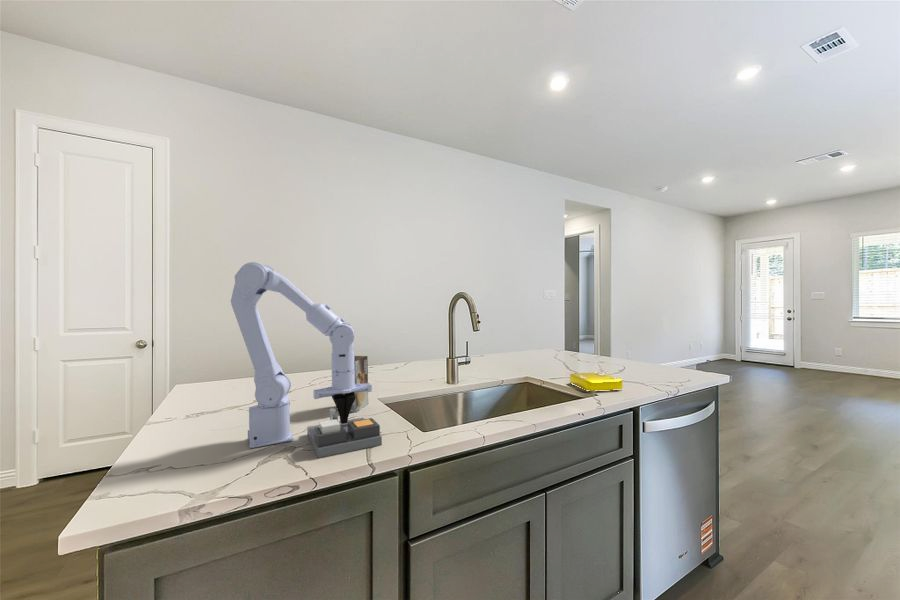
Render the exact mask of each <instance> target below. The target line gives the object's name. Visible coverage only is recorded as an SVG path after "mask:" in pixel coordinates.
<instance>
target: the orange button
mask: <svg viewBox="0 0 900 600" xmlns="http://www.w3.org/2000/svg"><path fill="white" fill-rule="evenodd" d="M366 419H367V420H361V421H355V422H353V425H354V426H355V427H356V428H360V427H366V426H371V425H374V424H373V423H372V422H371V421H370V420H369V419H368V418H366Z"/></svg>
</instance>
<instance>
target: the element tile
mask: <svg viewBox="0 0 900 600" xmlns="http://www.w3.org/2000/svg"><path fill="white" fill-rule="evenodd" d="M623 382H624V381H623V379H622V378H619V377H617V376H614V375H610V374H608V373H605V372H603V371H595V372H577V373H576V372H575V373H570V374H569V384H570V383H573V384H575V385H577V386H579V387H581V388H583V389H585V390H590V391H595V390H613V389H622V388H623V387H624V386H623V385H624V384H623ZM623 389H624V388H623Z"/></svg>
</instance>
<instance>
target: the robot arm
mask: <svg viewBox="0 0 900 600" xmlns="http://www.w3.org/2000/svg"><path fill="white" fill-rule="evenodd" d="M267 291H270V292H275V293H279V294H280V295H282V296H284V297H285V298H286V299H288V300H289V301H290V302H291V303H292V304H294V305H295V306H296V307H298V308H299V309H300V310H301V311H303V312H304V313H305V315H306V316H305V318H306V321H307V322H308V323H310V324H311V325H312V326H313V327H314V328H315V329H316V330H317V331H319V332H320V333H321V334H322V335H324V336H325V337H329V341H330V343H331V345H332V346H331V347H332V348H331V350H332V351H331V386H328V387H322V388H318V389H317V388H316V389H313V392H312V393H313V399H314V400H318V399H320V398H321V399H323V398H328V397H331V399H332V400H333V402H334V404H335V406H336V409H337V410H336V411H337V412H338V416H339V417H338V418H339V420H340V421H339V422H341V423H342V424H344V423H347V421H348V420H349V416H350V413H351V412H350V409H351V407H352V405H353V403H354V401H355V398H356V396H355V394H354V393H360V392H368V393H371V392H373V391H372V389H373V387H372V384H371V383H370V382H368V383H365V384H355V370H354V369H355V366H354V356H355V352H354V350H355V344H354V340H355V330H354V328H353V327H352V325H351V324H350V323H348V322H345V321H346V319H344V317H339V316H338V315H337V314H336V313H334V312H333V311H332V310H331V309H332V307H331V306H330V305H329V304H326V305H325V304H324V303H323V302H322V303H321V302H320V303H315V302H314V301H312V300H311V299H310V298H309V296H307V295H306V294H305V293H303V292H302V290H301V289H299V288H298V287H297V286H296V285H295V284H294V283H293V282H292V281H290V280H289V279H288V278H287V277H286V276H284V275H282V274H281V273H279V272H278V271H275V270H274V268H272V267H271V266H269V265H265V264H261V263H259V262H254V261H253V262H252V261H250V262H246V263H244V264H243V265H242V266H241V267H240V268H239V270H237V272H236V274H235V275H234V286H233V289H232V293H231V298H230V304H231V307H232V311H233V313H234V315H235V319H236V322H237V324H238V327H239V330H240V333H241V335H242V339H243V342H244V343H245V346H246V348H247V349H246V350H247V352H248V355H249V357H250V360H251V364H252V366H253V369H254V377H253V381H254V382H253V383H254V385H255V390H254V398H255V400H256V402H257V405H253V406H249V407H248V430H247V438H248V439H249V448H250V449H253V448H258V447H259V448H260V447H265V446H270V445H275V444H281V443H287V442H292V441H293V440H294V438H293V434H292V432H291V425H290V424H291V423H290V422H291V420H290V419H291V417H290V415H291V413H290V411H291V410H290V398H289V397H288V395H287V394H288V393H289V391H291V388H292V387H291V386H292V383H291V380H290V378H289V377H288V376H287V375H286V374H285V373H284V371H283V369H282V367H281V365H279V363H278V362H277V360H276V357H275V354H274V352H273V348H272V345H271V343H270V340H269V336H268V335H267V331H266V329H265V326H264V323H263V321H262V318H261V314H260V312H259V309H258V305H257V303H258V302H259V300H260V299H261V298H262V296H263V295H264V294H265V293H266V292H267Z"/></svg>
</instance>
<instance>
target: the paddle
mask: <svg viewBox="0 0 900 600" xmlns="http://www.w3.org/2000/svg"><path fill="white" fill-rule="evenodd" d="M338 416H339V413H338V410H336V408H334V407H333V408H329V420H335V419H337V421H338V422H339V417H338Z"/></svg>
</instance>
